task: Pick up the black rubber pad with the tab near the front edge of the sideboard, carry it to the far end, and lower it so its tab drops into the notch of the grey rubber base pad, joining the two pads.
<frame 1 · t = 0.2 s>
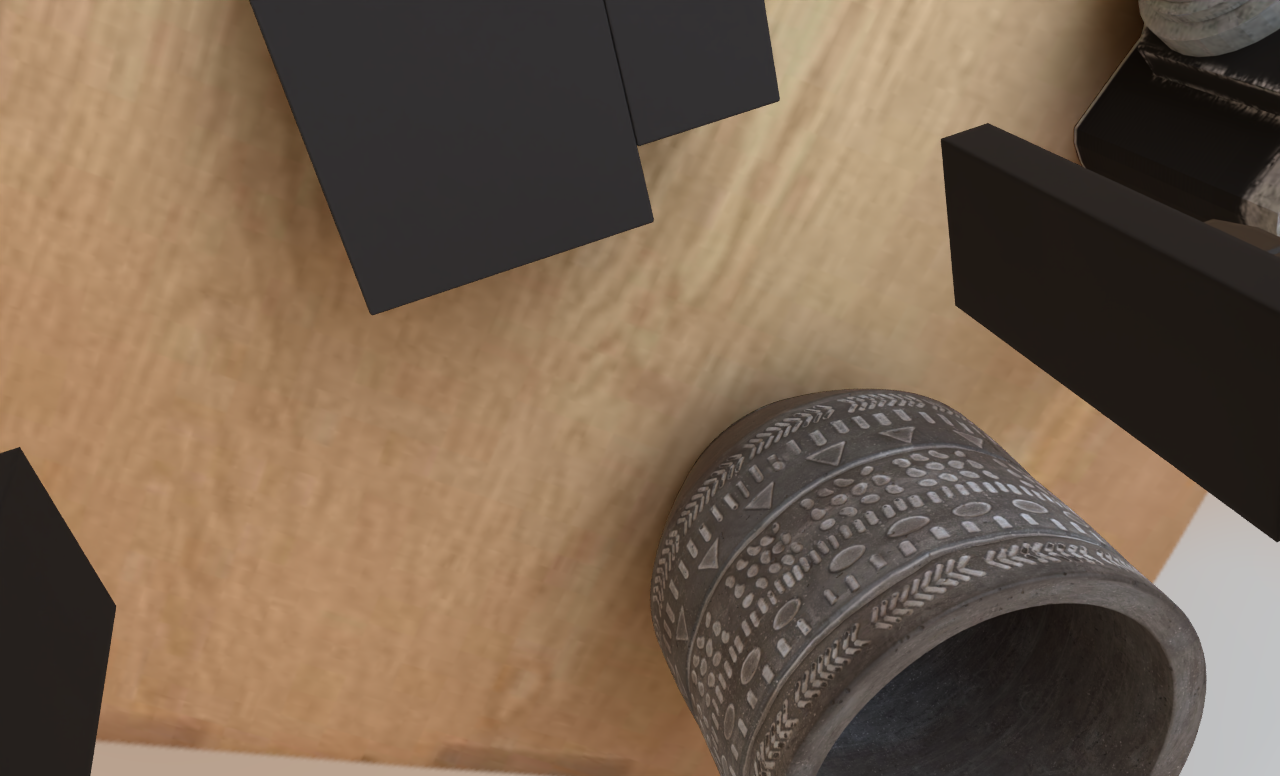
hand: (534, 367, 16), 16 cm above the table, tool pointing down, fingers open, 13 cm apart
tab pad: (433, 58, 29), on the table
planter: (787, 500, 39), on the table
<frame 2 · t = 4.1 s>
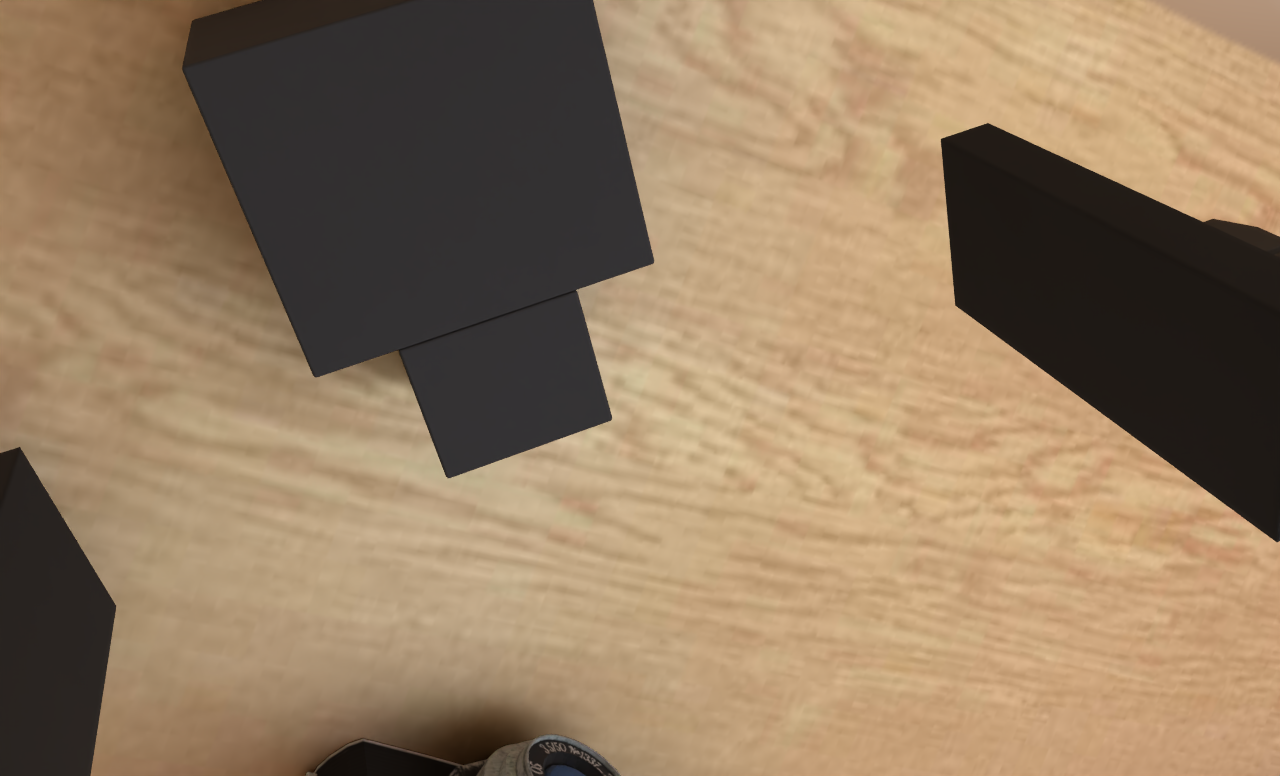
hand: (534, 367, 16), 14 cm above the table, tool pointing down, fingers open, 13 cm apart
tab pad: (411, 116, 28), on the table
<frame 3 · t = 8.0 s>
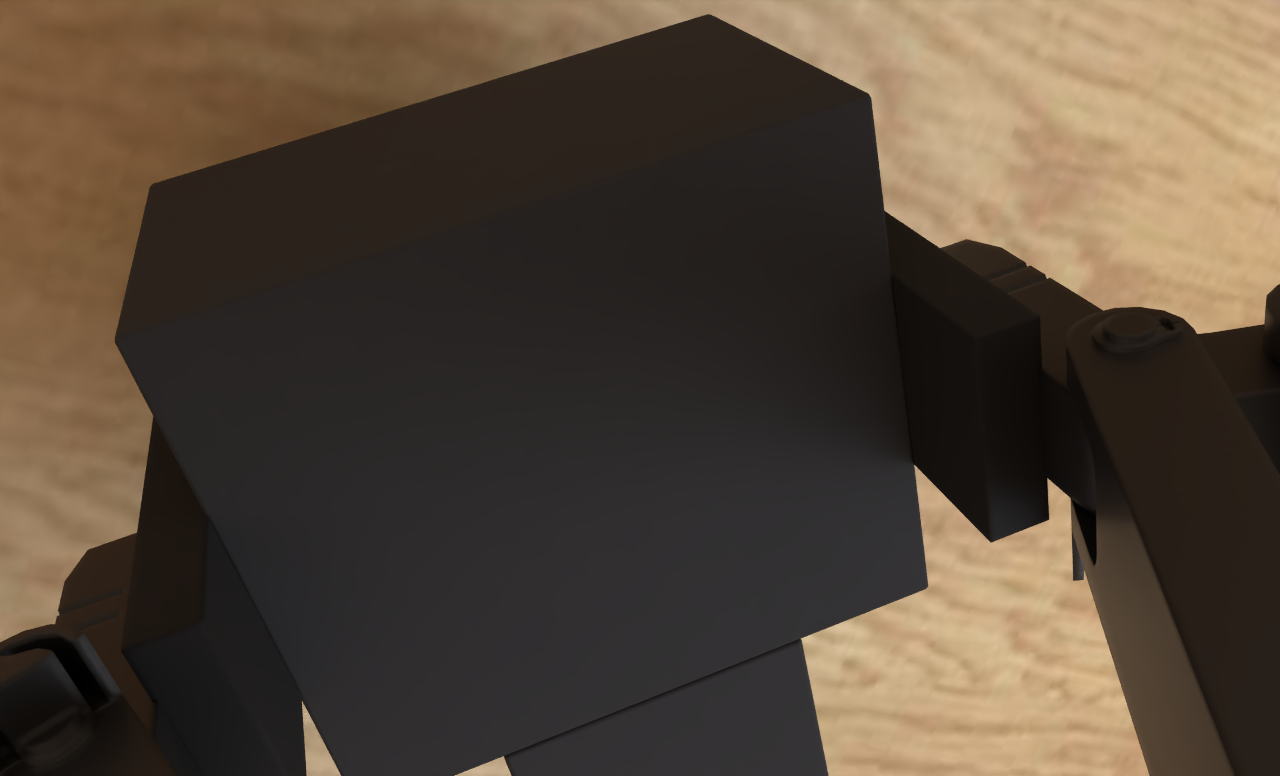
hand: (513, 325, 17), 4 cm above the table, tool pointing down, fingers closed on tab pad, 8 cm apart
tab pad: (509, 316, 18), point 3 cm above the table, touching gripper
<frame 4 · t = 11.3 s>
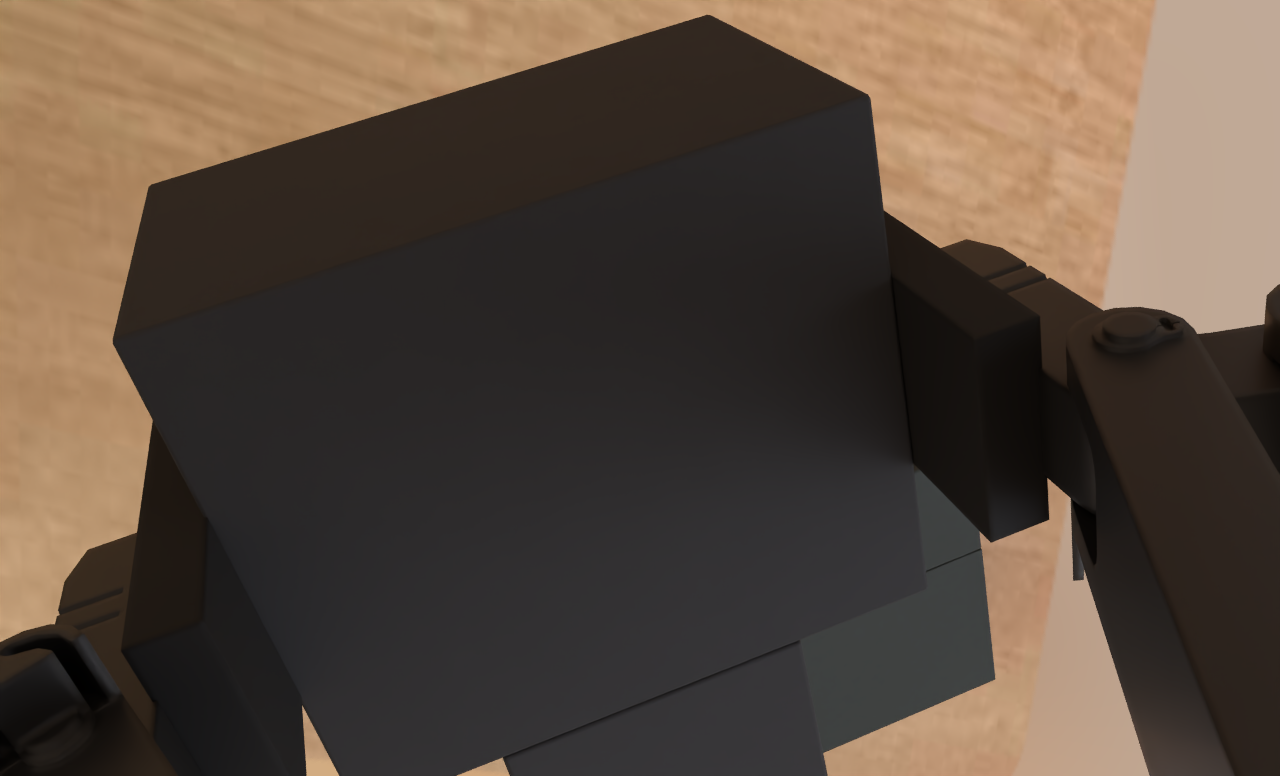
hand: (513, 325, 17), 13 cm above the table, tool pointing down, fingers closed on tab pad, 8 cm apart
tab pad: (508, 317, 18), point 13 cm above the table, touching gripper
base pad: (793, 580, 39), on the table
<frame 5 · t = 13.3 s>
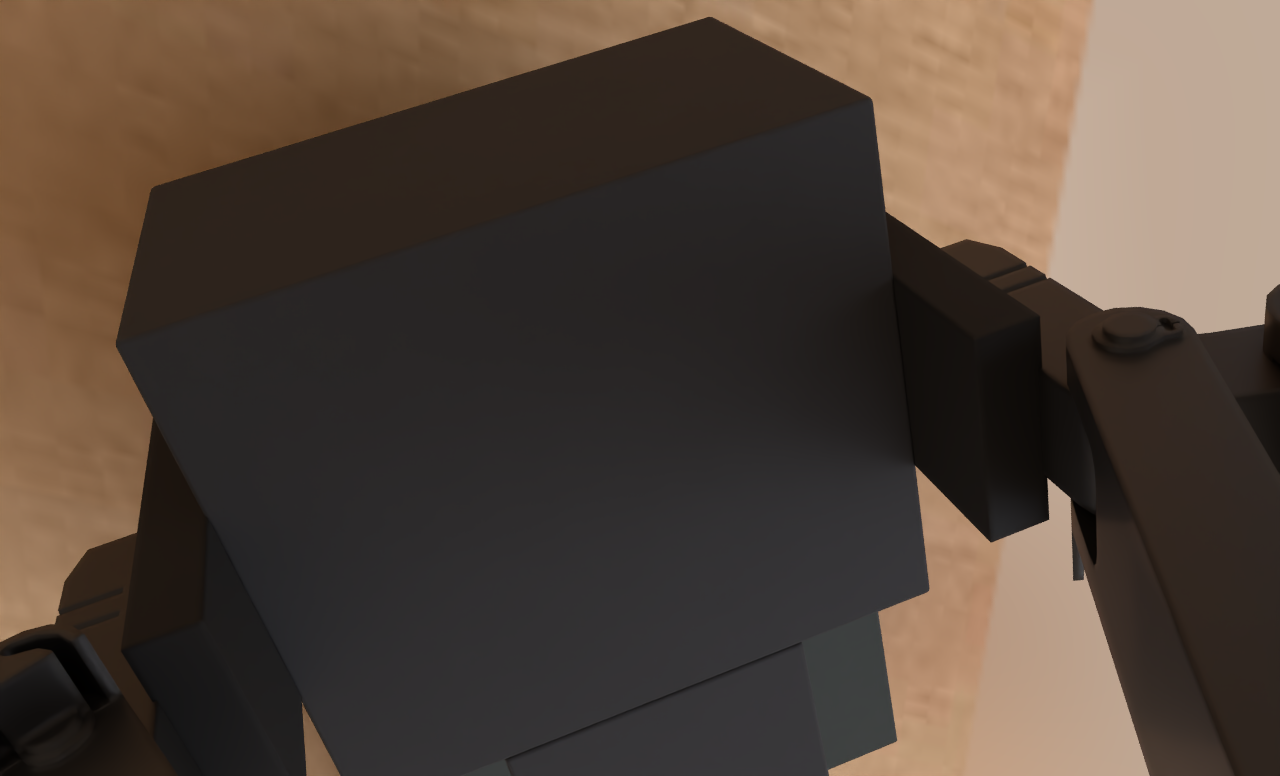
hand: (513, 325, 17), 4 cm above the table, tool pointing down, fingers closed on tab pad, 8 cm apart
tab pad: (510, 319, 18), point 4 cm above the table, touching gripper
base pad: (585, 585, 26), on the table
when the fingers open (0 cm above the table, at t = 14.8 s): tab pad stays where it is, on the table.
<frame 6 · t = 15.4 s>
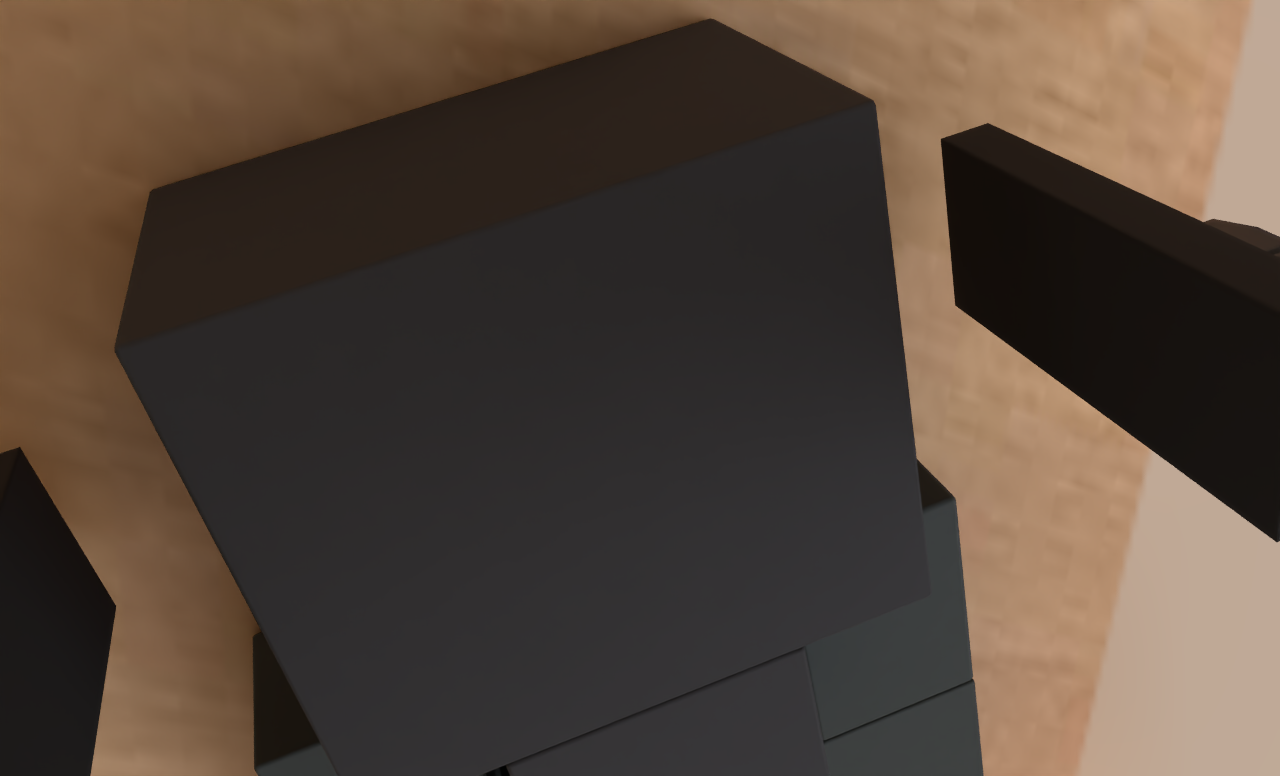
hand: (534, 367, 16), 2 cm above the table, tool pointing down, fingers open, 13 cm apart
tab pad: (510, 322, 18), on the table
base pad: (636, 720, 22), on the table
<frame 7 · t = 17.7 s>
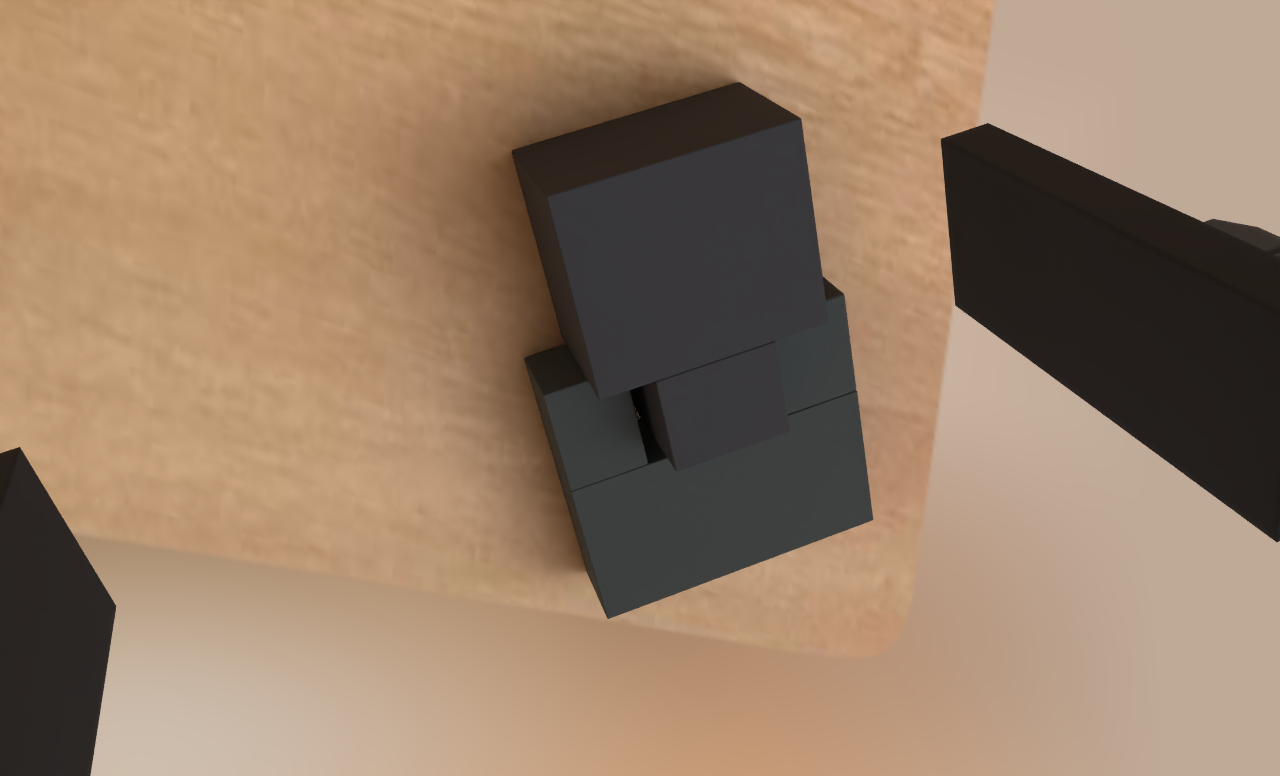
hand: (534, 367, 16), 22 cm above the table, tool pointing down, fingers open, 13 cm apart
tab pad: (648, 213, 40), on the table
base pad: (693, 424, 44), on the table
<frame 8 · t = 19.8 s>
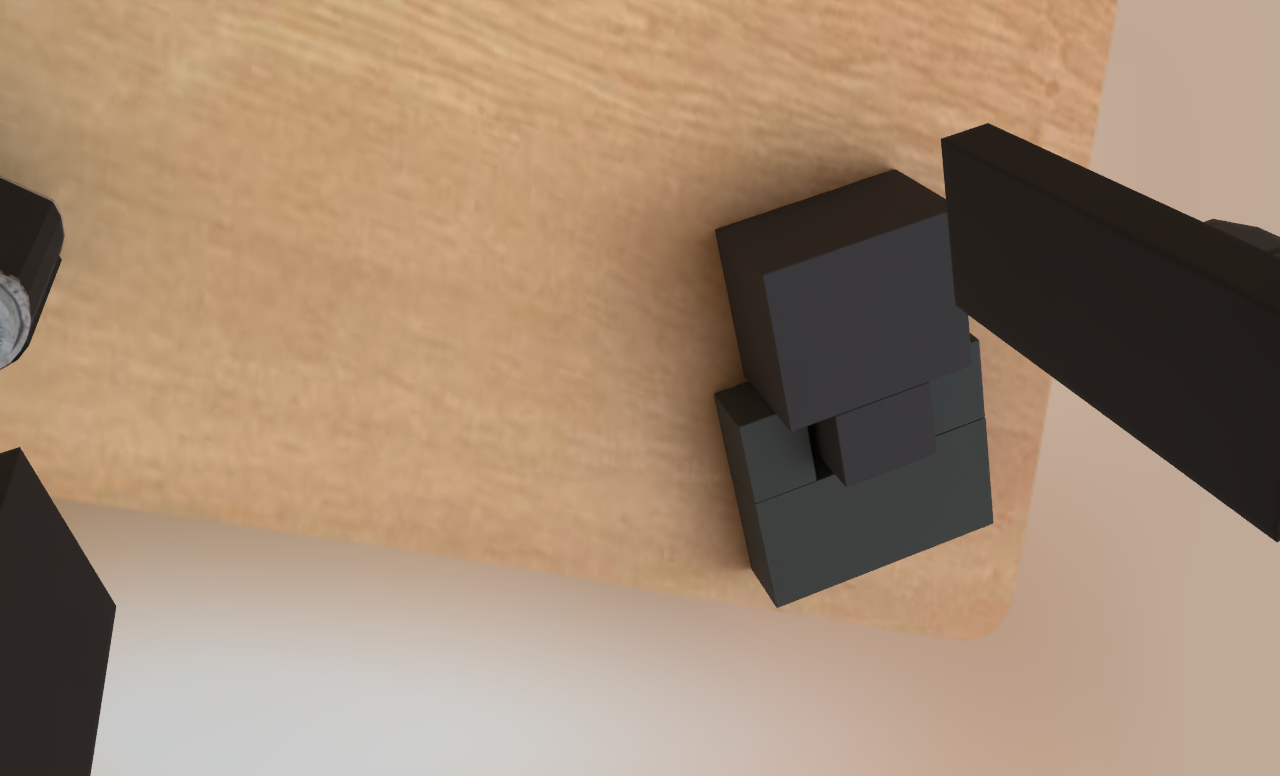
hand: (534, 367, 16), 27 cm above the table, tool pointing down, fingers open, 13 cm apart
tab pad: (818, 275, 48), on the table
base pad: (844, 445, 53), on the table
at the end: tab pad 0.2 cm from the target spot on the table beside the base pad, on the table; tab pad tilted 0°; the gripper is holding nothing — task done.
